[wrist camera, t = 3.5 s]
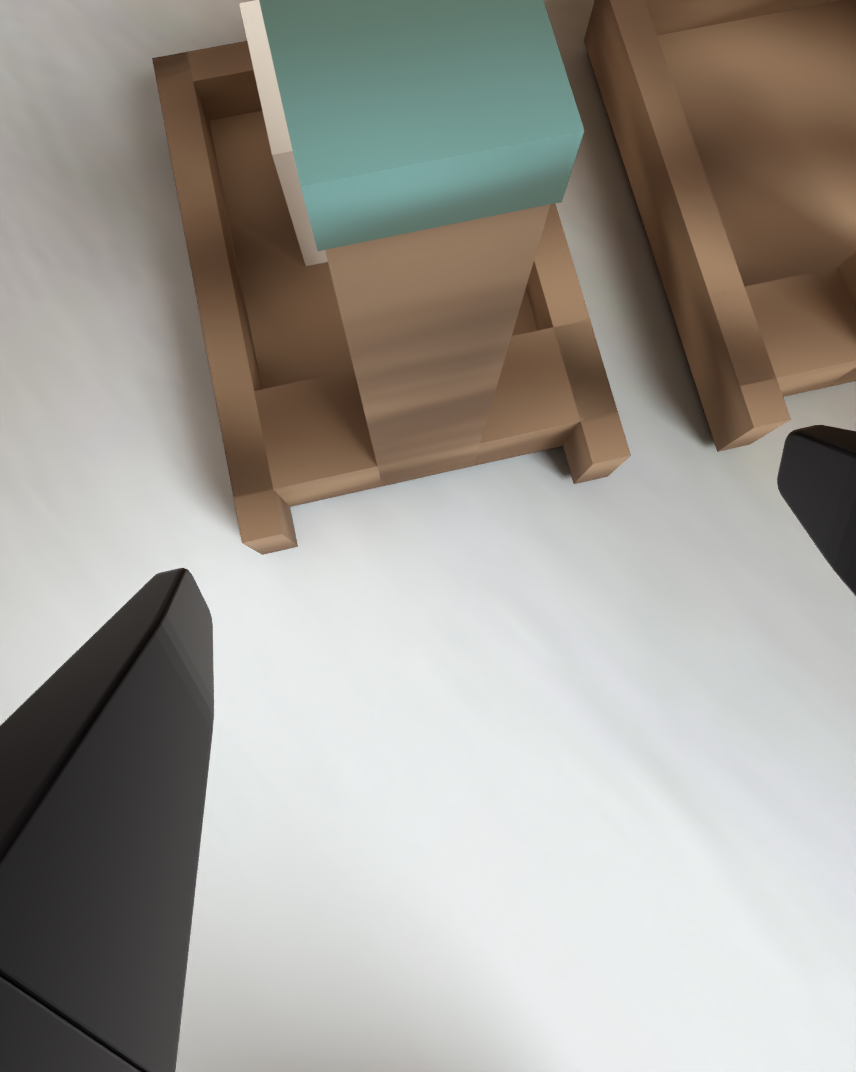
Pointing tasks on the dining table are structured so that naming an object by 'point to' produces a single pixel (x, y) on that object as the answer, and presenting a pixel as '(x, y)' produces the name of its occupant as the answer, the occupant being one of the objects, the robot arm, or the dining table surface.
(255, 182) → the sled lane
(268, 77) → the cube
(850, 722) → the dining table surface
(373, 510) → the dining table surface
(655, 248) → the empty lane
